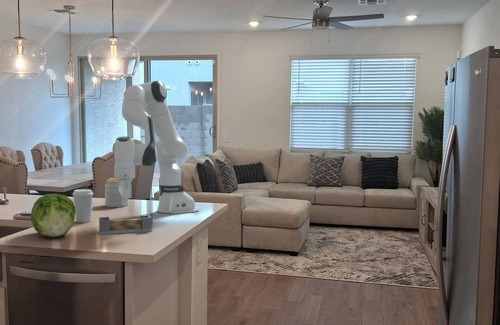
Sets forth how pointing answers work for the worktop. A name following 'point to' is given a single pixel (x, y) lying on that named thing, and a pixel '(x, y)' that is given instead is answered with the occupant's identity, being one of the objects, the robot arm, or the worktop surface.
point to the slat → (126, 224)
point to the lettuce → (53, 215)
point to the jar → (112, 194)
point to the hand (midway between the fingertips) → (124, 205)
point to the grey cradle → (146, 225)
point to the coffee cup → (83, 204)
